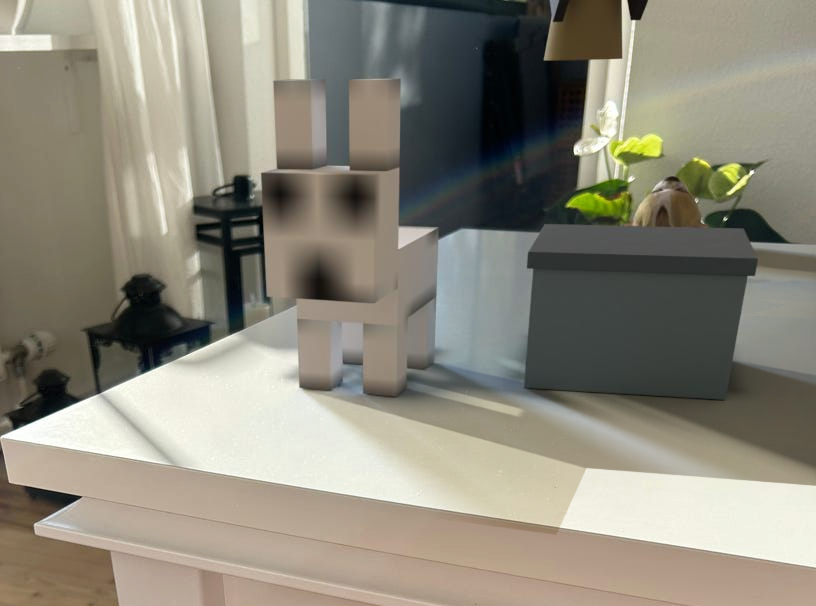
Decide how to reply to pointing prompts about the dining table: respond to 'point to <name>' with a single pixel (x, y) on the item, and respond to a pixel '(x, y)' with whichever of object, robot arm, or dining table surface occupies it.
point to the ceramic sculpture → (668, 207)
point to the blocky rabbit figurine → (348, 241)
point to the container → (636, 309)
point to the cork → (587, 32)
